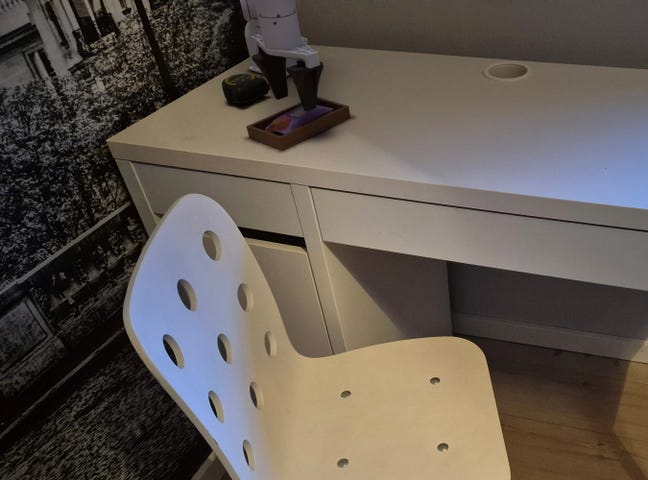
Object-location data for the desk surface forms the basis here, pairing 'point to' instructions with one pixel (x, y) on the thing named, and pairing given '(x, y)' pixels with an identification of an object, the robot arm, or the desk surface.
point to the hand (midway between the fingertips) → (296, 103)
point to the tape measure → (244, 88)
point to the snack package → (297, 119)
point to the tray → (301, 133)
